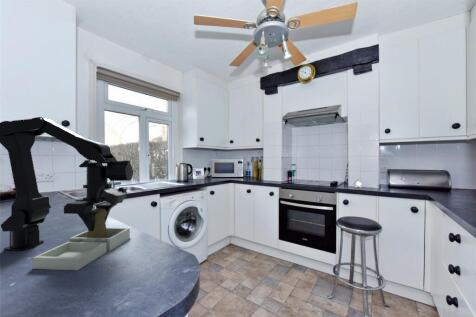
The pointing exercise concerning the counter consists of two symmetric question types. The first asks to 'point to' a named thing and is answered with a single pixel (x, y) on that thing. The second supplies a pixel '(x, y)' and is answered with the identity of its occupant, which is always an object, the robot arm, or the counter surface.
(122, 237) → the case
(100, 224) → the cork
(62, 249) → the lid
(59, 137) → the robot arm
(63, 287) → the counter surface
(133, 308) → the counter surface
